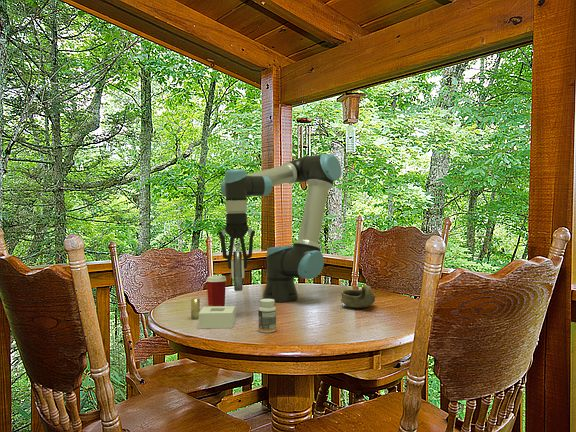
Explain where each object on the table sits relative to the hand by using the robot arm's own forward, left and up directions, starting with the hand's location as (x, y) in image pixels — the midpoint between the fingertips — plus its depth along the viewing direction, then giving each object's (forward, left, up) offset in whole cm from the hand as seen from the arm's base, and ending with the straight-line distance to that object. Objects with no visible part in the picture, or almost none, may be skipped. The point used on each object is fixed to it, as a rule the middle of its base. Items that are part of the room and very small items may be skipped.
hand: (238, 277), depth 165 cm
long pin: (0, 0, -5) cm, 5 cm away
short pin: (+15, 0, -15) cm, 21 cm away
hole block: (+6, +9, -15) cm, 18 cm away
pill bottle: (-11, +19, -15) cm, 26 cm away
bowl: (-46, -13, -15) cm, 50 cm away
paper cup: (+9, -6, -15) cm, 18 cm away
